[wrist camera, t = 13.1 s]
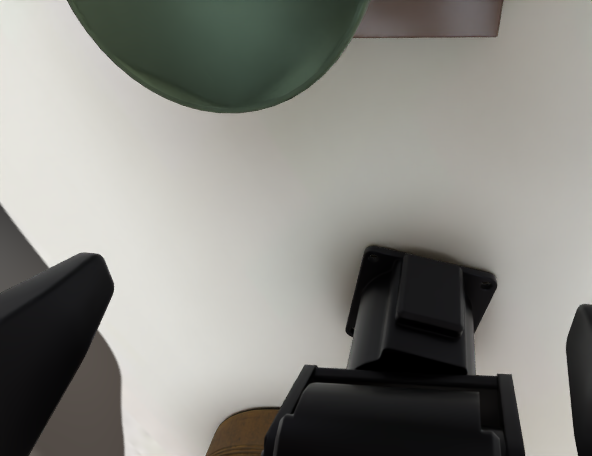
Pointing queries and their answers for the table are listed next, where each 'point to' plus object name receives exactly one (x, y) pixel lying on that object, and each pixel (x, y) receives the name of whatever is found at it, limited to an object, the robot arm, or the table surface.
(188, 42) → the tea tin
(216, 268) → the table surface
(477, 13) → the brown stand
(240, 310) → the table surface
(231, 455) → the wooden container
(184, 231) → the table surface
